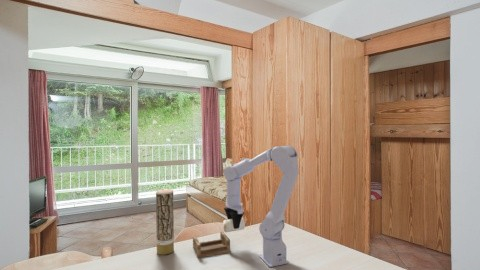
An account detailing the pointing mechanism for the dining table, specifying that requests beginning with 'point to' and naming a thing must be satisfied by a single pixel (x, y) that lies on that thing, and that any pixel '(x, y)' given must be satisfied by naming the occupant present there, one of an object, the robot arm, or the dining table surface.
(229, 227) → the roll
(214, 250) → the holder
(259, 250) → the dining table surface
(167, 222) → the paper tube
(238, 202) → the robot arm
